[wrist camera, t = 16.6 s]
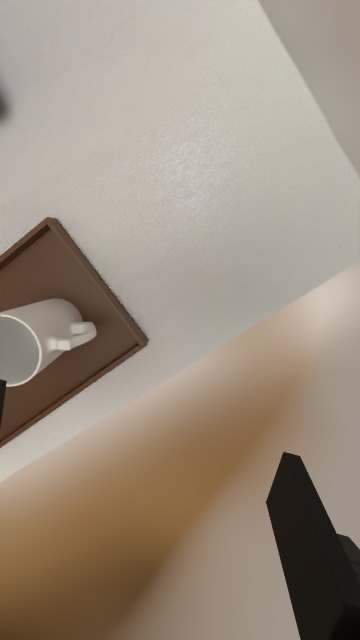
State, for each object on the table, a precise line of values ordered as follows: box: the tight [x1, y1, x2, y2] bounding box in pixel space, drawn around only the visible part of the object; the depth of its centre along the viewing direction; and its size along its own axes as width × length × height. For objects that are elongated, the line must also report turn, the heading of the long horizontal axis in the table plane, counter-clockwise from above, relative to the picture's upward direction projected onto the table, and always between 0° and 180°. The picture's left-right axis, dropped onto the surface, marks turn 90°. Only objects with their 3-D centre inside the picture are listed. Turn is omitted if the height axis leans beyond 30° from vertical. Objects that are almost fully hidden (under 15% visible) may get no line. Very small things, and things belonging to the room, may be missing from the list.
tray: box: [0, 217, 149, 448], centre depth 41 cm, size 29×18×2 cm, turn 126°
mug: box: [0, 298, 96, 387], centre depth 35 cm, size 10×7×12 cm, turn 92°
